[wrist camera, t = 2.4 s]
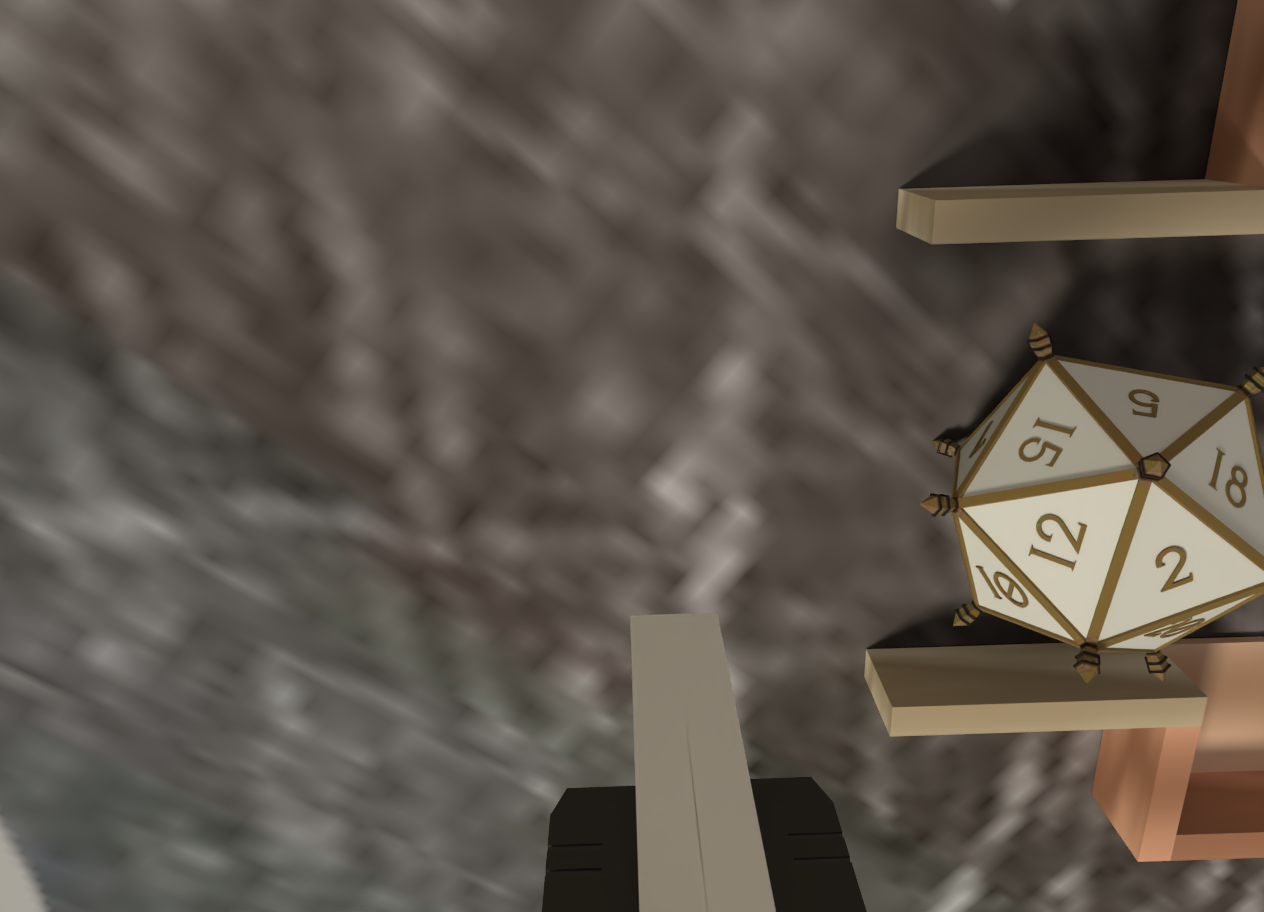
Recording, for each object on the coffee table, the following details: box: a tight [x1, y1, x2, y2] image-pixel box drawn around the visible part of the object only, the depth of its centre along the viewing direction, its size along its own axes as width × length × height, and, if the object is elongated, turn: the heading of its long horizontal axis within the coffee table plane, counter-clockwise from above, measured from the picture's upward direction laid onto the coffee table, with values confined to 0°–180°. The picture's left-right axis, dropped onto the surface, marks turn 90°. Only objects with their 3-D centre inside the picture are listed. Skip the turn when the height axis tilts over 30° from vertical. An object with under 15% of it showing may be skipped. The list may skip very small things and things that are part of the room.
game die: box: [920, 323, 1264, 684], centre depth 23 cm, size 9×8×10 cm
